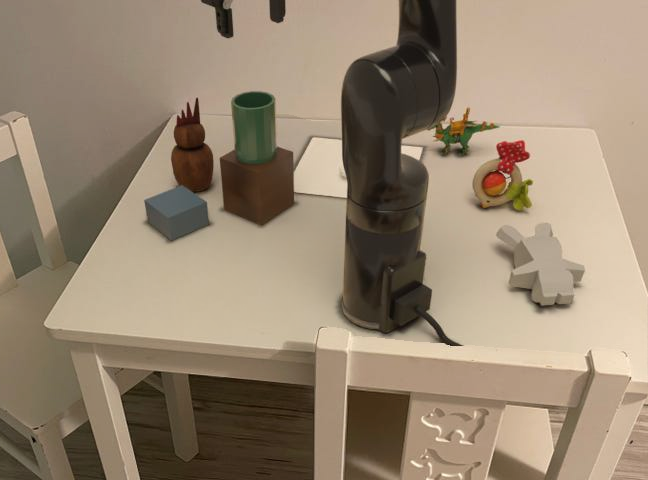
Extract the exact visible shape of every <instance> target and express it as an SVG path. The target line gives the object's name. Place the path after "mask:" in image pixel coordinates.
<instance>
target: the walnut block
mask: <svg viewBox="0 0 648 480" xmlns="http://www.w3.org/2000/svg"><path fill="white" fill-rule="evenodd" d="M294 164H295V163H294V151H292V150H289V149H287V148H283V147H280V146H278V145H277V155H276V157H275V158H274V159H273V160H271V161H269V162H267V163H263V164H246V163H242V162H240V161H239V160H237V158H236V156H235V148H234V149H232V150H231V151H229V152H227V153H225V154H224V155H222V156H220V157H219V167H220V179H221V190H222V191H221V192H222V200H223V201H222V202H223V210H224V211H227V212H228V213H231V214H234V215H236V216H239V217H241V218H243V219H246V220H248V221H250V222H253V223H256V224H258V225H260V226H264V225H265V224H267V223H268V222H269V221H271V220H273V219H274V218H275V217H277V216H278V215H280V214H281V213H283V212H284V211H286V210H287V209H289V208H291V207H292V206H293V205H295V192H294V171H295V169H294V166H295V165H294Z"/></svg>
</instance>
